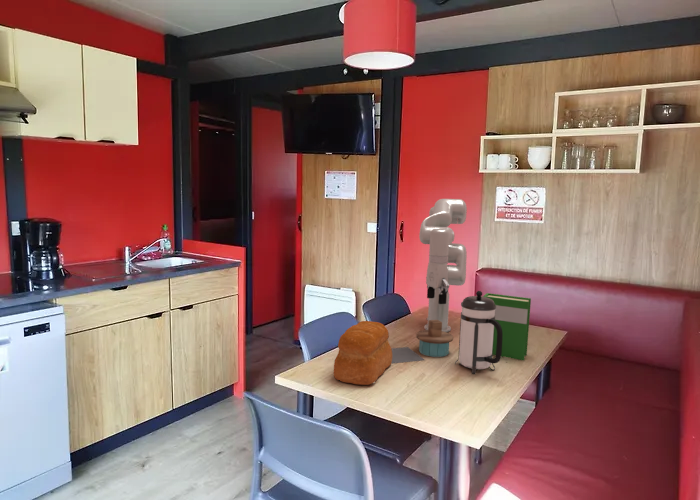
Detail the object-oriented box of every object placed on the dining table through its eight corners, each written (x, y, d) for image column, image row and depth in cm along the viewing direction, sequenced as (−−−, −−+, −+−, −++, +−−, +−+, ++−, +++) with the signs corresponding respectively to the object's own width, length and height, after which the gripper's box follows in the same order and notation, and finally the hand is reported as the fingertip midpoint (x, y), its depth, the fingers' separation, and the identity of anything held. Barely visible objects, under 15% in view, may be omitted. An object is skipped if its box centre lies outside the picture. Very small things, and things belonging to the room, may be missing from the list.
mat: (372, 351, 199) (372, 350, 199) (407, 348, 204) (407, 346, 204) (387, 365, 184) (387, 363, 184) (425, 361, 189) (425, 360, 189)
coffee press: (450, 372, 179) (455, 293, 175) (458, 358, 194) (462, 285, 190) (499, 380, 172) (505, 298, 168) (503, 365, 187) (508, 289, 183)
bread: (329, 381, 168) (329, 333, 166) (357, 356, 192) (357, 314, 189) (371, 388, 162) (372, 339, 160) (395, 362, 186) (395, 318, 183)
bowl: (414, 349, 203) (414, 334, 202) (439, 347, 207) (440, 332, 206) (427, 359, 192) (428, 343, 191) (454, 356, 195) (454, 341, 195)
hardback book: (526, 355, 200) (530, 298, 196) (523, 360, 193) (528, 302, 190) (483, 347, 208) (487, 293, 205) (479, 352, 201) (483, 296, 198)
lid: (410, 333, 203) (410, 317, 202) (441, 331, 208) (442, 315, 207) (426, 345, 189) (427, 327, 188) (460, 342, 194) (461, 325, 193)
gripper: (420, 256, 201) (418, 296, 203) (440, 263, 185) (438, 306, 187) (436, 256, 203) (434, 295, 206) (457, 262, 187) (455, 305, 190)
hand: (436, 300), depth 197 cm, fingers open, 9 cm apart
